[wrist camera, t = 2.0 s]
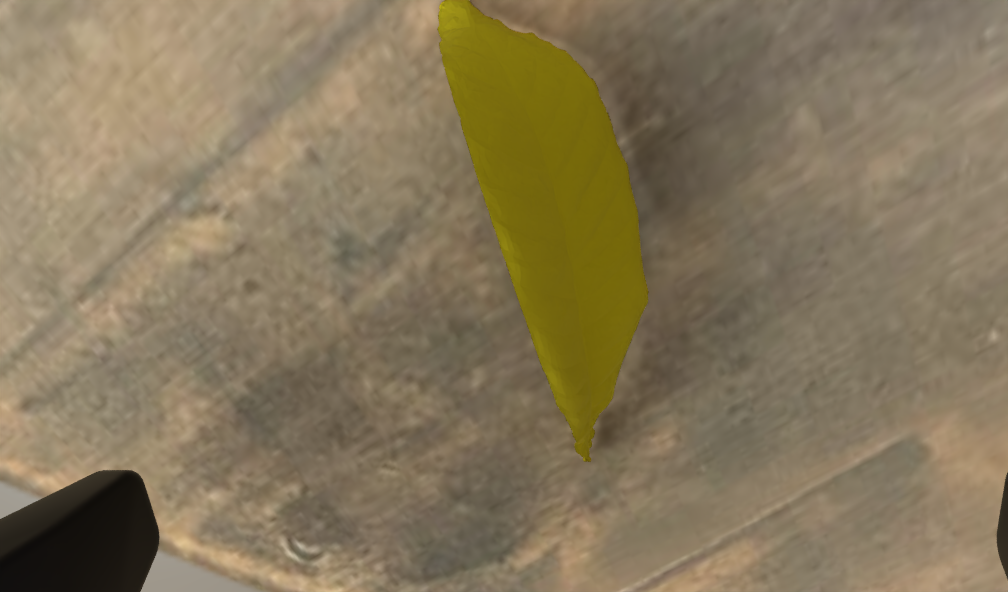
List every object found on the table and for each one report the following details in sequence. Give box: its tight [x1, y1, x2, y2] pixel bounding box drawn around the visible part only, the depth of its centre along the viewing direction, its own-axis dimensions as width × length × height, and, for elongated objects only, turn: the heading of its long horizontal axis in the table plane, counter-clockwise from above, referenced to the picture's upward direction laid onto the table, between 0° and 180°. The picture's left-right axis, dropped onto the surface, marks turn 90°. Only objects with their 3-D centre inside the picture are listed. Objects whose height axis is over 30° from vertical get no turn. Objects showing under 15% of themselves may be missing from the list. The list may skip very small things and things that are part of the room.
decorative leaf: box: [438, 0, 649, 462], centre depth 15 cm, size 10×2×4 cm
